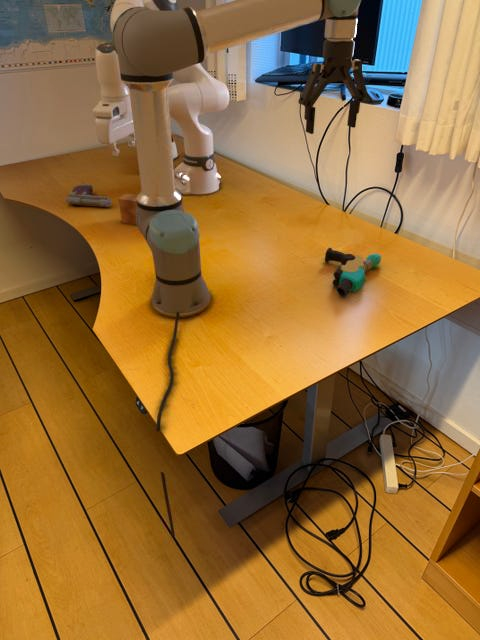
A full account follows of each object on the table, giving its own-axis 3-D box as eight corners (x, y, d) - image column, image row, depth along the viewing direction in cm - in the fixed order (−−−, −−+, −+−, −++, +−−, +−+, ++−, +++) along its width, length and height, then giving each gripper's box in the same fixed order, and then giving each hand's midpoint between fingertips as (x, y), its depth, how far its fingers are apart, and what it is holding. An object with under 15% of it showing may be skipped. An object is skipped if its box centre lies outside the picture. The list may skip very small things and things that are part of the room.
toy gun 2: (303, 277, 126) (358, 291, 120) (334, 239, 144) (384, 250, 139) (302, 292, 128) (356, 306, 123) (333, 252, 147) (381, 263, 141)
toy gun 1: (124, 195, 187) (108, 210, 175) (80, 192, 190) (61, 206, 178) (122, 185, 185) (106, 200, 173) (78, 182, 188) (59, 197, 176)
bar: (185, 225, 164) (183, 201, 159) (179, 231, 160) (176, 206, 155) (129, 217, 170) (125, 193, 165) (122, 222, 167) (118, 198, 161)
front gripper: (370, 35, 124) (359, 121, 136) (287, 41, 115) (284, 132, 128) (389, 37, 118) (376, 126, 131) (304, 44, 110) (298, 138, 122)
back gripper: (126, 97, 154) (132, 141, 162) (89, 111, 138) (97, 159, 146) (143, 98, 152) (148, 143, 160) (107, 113, 136) (115, 161, 144)
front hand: (330, 129), depth 129 cm, fingers open, 13 cm apart
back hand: (124, 151), depth 153 cm, fingers open, 8 cm apart
